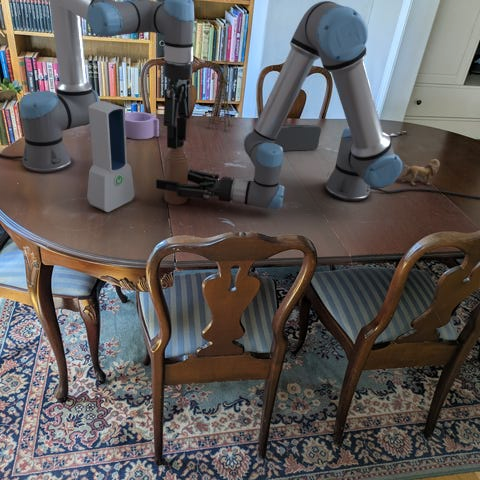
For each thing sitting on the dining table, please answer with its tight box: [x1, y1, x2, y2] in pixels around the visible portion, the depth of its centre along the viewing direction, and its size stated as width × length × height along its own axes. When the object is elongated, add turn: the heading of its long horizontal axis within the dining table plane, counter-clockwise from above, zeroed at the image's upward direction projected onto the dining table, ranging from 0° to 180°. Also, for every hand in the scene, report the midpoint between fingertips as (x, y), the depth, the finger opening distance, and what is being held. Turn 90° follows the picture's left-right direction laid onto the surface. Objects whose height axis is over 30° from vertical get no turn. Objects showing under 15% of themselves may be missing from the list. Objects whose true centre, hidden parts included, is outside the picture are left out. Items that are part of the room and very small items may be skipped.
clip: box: [125, 111, 160, 140], centre depth 188 cm, size 20×12×7 cm, turn 109°
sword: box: [387, 132, 406, 138], centre depth 214 cm, size 31×3×1 cm, turn 126°
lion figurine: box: [400, 158, 441, 186], centre depth 172 cm, size 15×5×9 cm, turn 110°
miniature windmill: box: [207, 57, 231, 131], centre depth 198 cm, size 9×8×30 cm
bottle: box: [163, 146, 190, 205], centre depth 142 cm, size 7×7×20 cm
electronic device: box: [86, 100, 135, 213], centre depth 133 cm, size 12×8×30 cm, turn 148°
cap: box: [177, 136, 185, 147], centre depth 137 cm, size 4×4×2 cm
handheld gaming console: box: [274, 124, 322, 152], centre depth 189 cm, size 23×3×10 cm, turn 108°
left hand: (176, 143), depth 137 cm, fingers open, 6 cm apart
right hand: (160, 178), depth 144 cm, fingers closed on bottle, 7 cm apart
